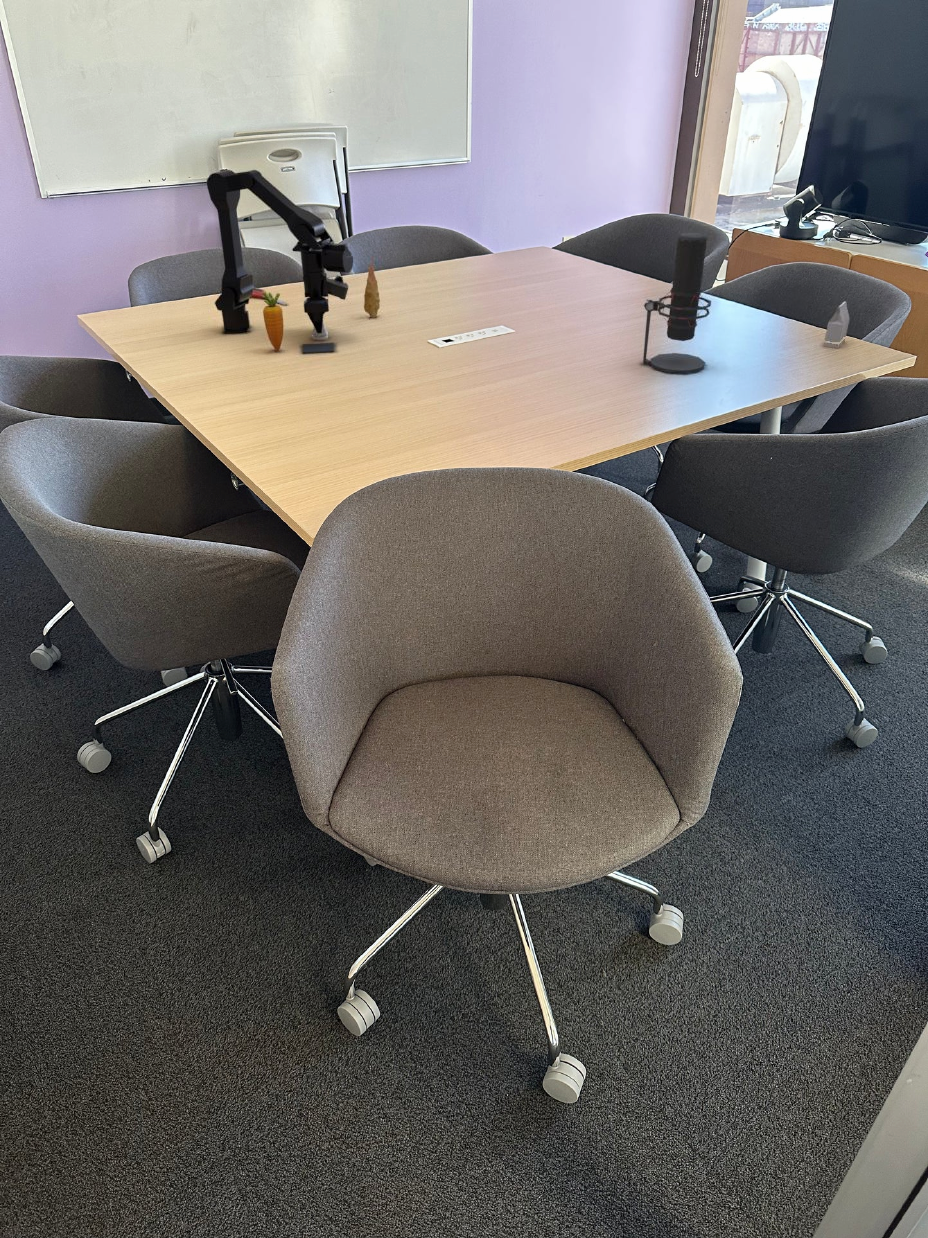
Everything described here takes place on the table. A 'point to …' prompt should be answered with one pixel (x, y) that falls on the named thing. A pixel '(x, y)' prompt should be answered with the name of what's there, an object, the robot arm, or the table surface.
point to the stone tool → (371, 294)
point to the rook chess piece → (320, 334)
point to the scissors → (259, 294)
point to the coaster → (318, 348)
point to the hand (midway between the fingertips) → (319, 330)
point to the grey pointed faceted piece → (837, 327)
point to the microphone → (681, 305)
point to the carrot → (273, 320)
